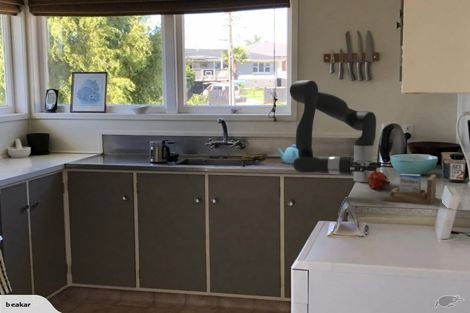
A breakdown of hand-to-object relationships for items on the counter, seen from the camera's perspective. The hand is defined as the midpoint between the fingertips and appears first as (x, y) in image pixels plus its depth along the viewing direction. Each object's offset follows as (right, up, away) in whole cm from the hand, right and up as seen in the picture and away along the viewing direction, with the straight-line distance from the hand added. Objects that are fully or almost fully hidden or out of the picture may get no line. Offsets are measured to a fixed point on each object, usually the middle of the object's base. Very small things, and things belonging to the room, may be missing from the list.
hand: (378, 166), depth 250 cm
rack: (+11, -13, -5) cm, 18 cm away
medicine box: (+11, -12, -5) cm, 17 cm away
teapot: (-24, 0, +109) cm, 112 cm away
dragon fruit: (+5, -10, +21) cm, 24 cm away
